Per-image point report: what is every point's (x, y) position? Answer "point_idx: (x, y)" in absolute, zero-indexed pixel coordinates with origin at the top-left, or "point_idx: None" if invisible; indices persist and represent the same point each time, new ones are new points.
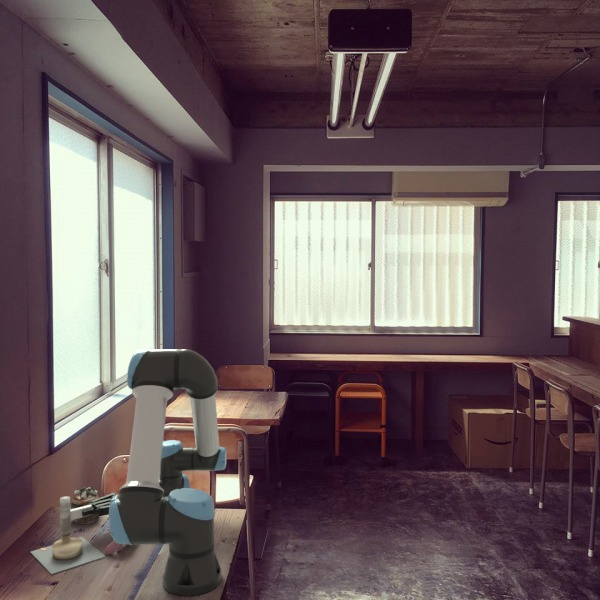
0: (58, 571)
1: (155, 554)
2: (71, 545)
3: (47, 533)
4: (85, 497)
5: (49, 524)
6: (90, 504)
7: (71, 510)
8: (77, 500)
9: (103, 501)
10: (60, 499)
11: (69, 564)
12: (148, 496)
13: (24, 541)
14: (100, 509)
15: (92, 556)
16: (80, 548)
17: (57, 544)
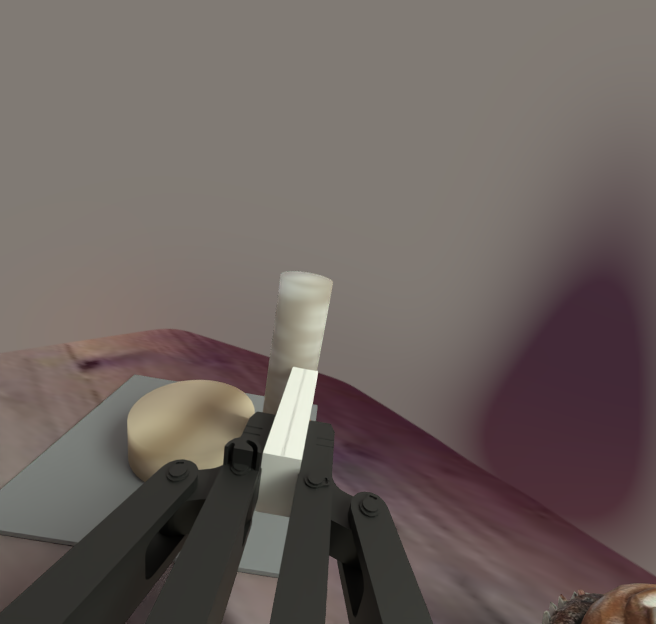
0: (123, 385)
1: None
2: (164, 409)
3: (444, 499)
4: None
5: (555, 553)
6: (311, 468)
7: (301, 372)
8: (632, 593)
9: (279, 593)
10: (306, 272)
11: (119, 415)
12: None
13: (410, 431)
14: (157, 480)
15: (52, 485)
16: (128, 442)
17: (225, 395)
